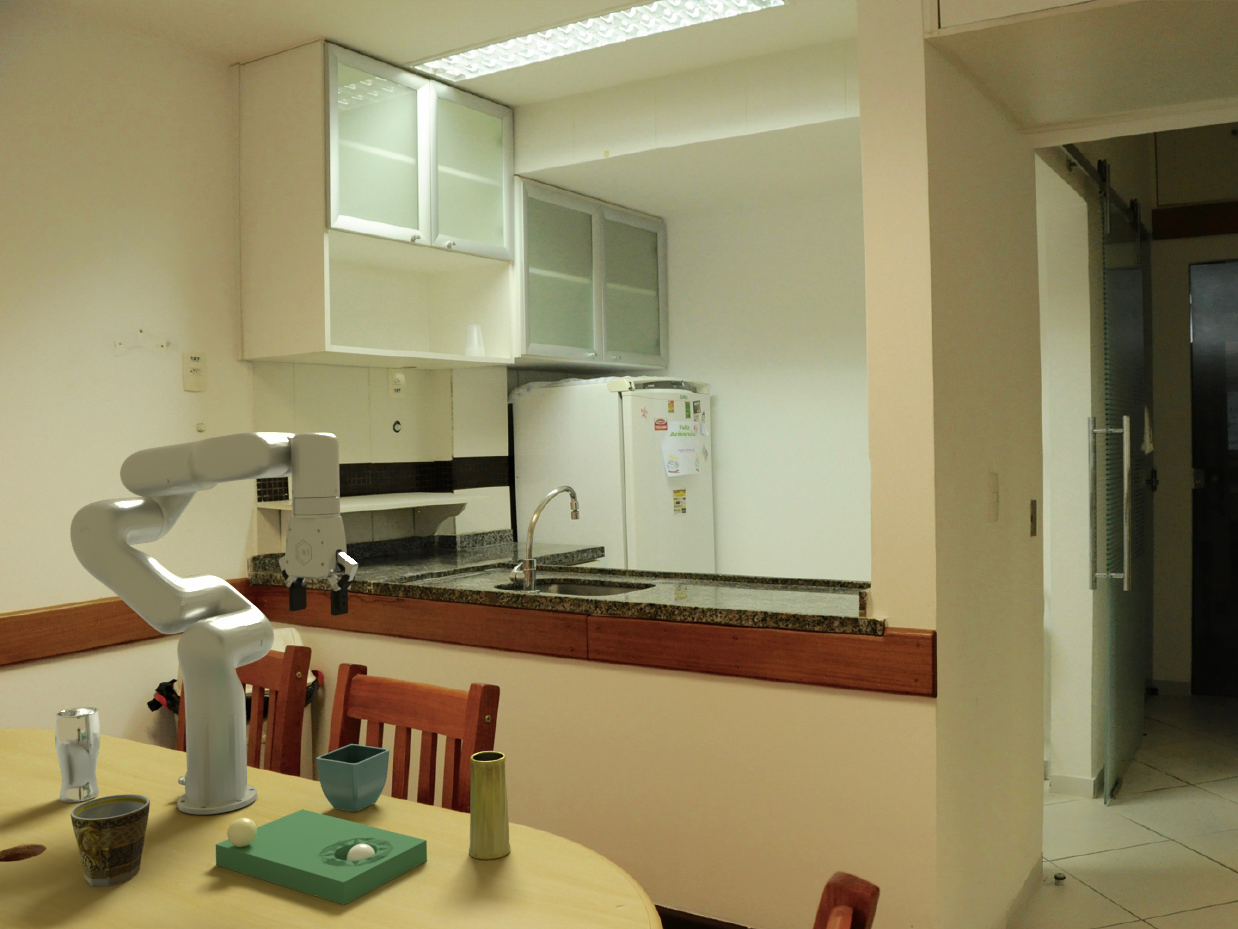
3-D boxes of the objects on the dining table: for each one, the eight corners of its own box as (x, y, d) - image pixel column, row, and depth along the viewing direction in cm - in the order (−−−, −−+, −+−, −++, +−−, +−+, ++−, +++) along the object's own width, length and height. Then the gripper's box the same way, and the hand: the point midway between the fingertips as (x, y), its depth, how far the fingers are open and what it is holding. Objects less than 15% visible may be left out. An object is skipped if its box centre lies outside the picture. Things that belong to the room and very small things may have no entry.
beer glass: (110, 794, 176) (107, 709, 176) (70, 806, 171) (68, 719, 170) (87, 787, 180) (85, 704, 180) (48, 799, 174) (46, 713, 174)
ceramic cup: (97, 861, 148) (95, 794, 147) (164, 861, 147) (162, 793, 147) (44, 902, 135) (42, 828, 134) (117, 902, 134) (115, 827, 134)
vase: (477, 863, 145) (475, 765, 144) (463, 848, 150) (461, 754, 150) (516, 855, 148) (514, 758, 147) (501, 840, 153) (500, 747, 153)
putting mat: (216, 865, 146) (215, 844, 146) (302, 828, 159) (302, 809, 159) (344, 905, 132) (343, 882, 132) (426, 861, 146) (426, 840, 146)
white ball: (339, 874, 141) (340, 846, 141) (360, 863, 145) (361, 836, 144) (360, 882, 139) (361, 853, 139) (381, 871, 142) (382, 843, 142)
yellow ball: (221, 848, 144) (220, 820, 144) (244, 838, 148) (244, 811, 148) (240, 853, 142) (239, 825, 142) (263, 844, 146) (262, 816, 145)
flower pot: (315, 811, 167) (314, 757, 167) (352, 794, 175) (351, 743, 175) (355, 819, 163) (354, 764, 163) (392, 802, 171) (391, 749, 170)
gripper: (261, 508, 166) (264, 611, 166) (336, 510, 157) (338, 619, 157) (297, 505, 172) (300, 605, 173) (371, 507, 163) (373, 612, 164)
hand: (318, 612), depth 165 cm, fingers open, 9 cm apart
